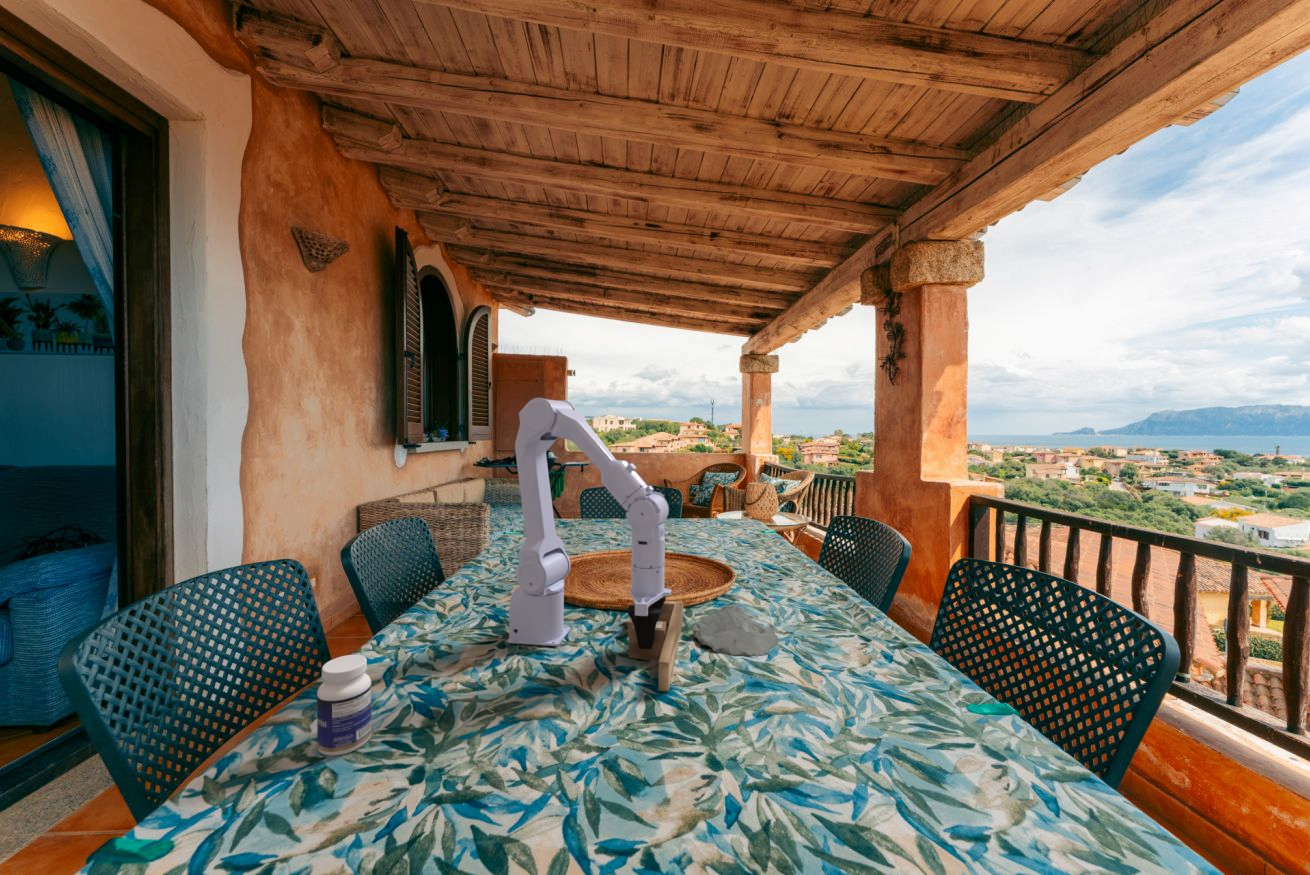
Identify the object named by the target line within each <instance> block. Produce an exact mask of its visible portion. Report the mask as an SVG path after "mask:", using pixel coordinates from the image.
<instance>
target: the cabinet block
mask: <svg viewBox="0 0 1310 875" xmlns="http://www.w3.org/2000/svg"><path fill="white" fill-rule="evenodd" d="M666 634H667V623H666V622H664V621H657V623H656V627H655V634H654V640H653V645H652V648H651V649H640V648H639V646H638V642H637V637H636V632H635V628H634V625H633V622H632V623H631V625H630V627H629V636H628V658H629V659H643V660H656V661H657V660H658V661H659V659H660V656H661V652H662V648H663V645H664V641H665V637H666Z"/></svg>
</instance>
